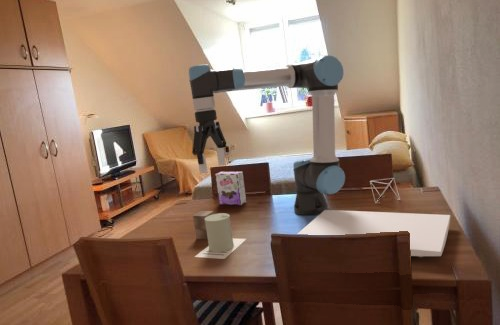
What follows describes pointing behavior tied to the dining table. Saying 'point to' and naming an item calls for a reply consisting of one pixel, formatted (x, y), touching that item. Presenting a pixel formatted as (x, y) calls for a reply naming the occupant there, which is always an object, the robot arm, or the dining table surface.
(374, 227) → the board
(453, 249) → the dining table surface
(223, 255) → the letter
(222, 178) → the candy box
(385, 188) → the geometric polyhedron
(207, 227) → the can
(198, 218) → the block
